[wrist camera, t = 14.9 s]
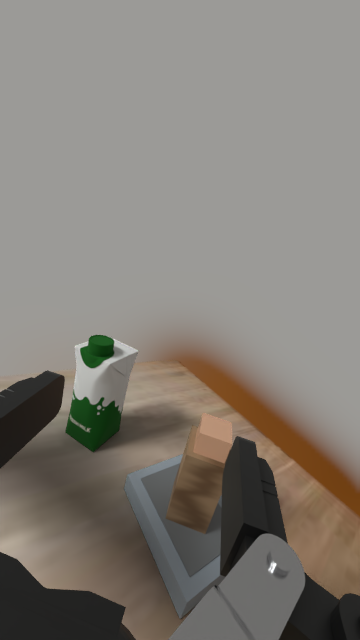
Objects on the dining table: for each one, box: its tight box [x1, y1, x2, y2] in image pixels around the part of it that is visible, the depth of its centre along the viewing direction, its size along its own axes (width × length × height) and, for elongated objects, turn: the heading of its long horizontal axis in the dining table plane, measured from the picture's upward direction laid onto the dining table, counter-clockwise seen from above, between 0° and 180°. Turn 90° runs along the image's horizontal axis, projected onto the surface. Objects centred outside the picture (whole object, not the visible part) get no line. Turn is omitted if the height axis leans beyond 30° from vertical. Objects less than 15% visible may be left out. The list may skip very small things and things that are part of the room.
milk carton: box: [65, 335, 138, 452], centre depth 45 cm, size 9×9×20 cm
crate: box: [165, 425, 230, 534], centre depth 34 cm, size 6×6×11 cm
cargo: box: [193, 413, 232, 463], centre depth 32 cm, size 4×4×3 cm
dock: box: [124, 454, 225, 619], centre depth 36 cm, size 16×12×3 cm
